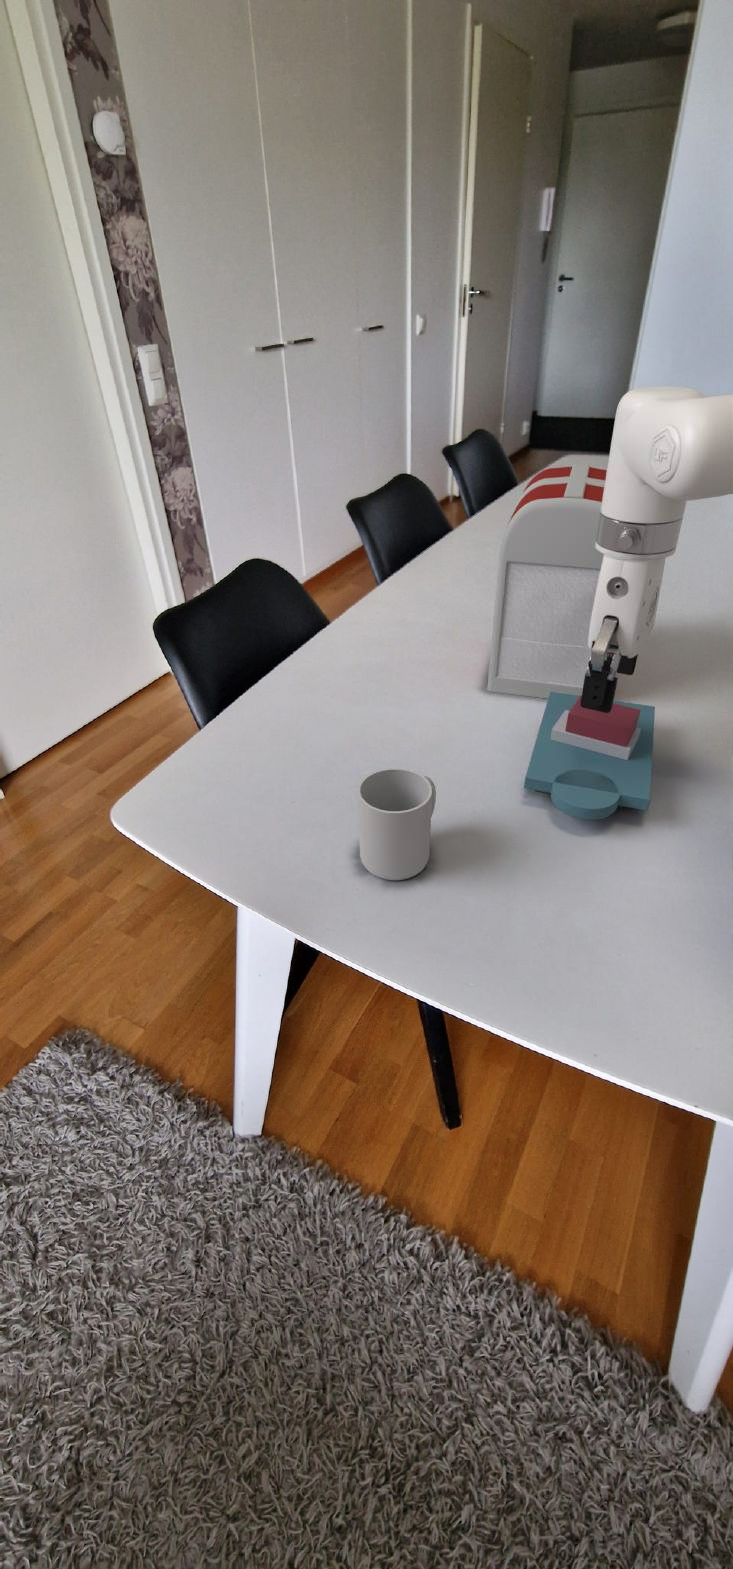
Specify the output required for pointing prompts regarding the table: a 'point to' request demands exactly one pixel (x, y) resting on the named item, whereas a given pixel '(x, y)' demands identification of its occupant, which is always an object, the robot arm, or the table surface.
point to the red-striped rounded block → (547, 585)
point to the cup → (395, 822)
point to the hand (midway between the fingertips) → (607, 689)
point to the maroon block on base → (599, 729)
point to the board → (590, 767)
